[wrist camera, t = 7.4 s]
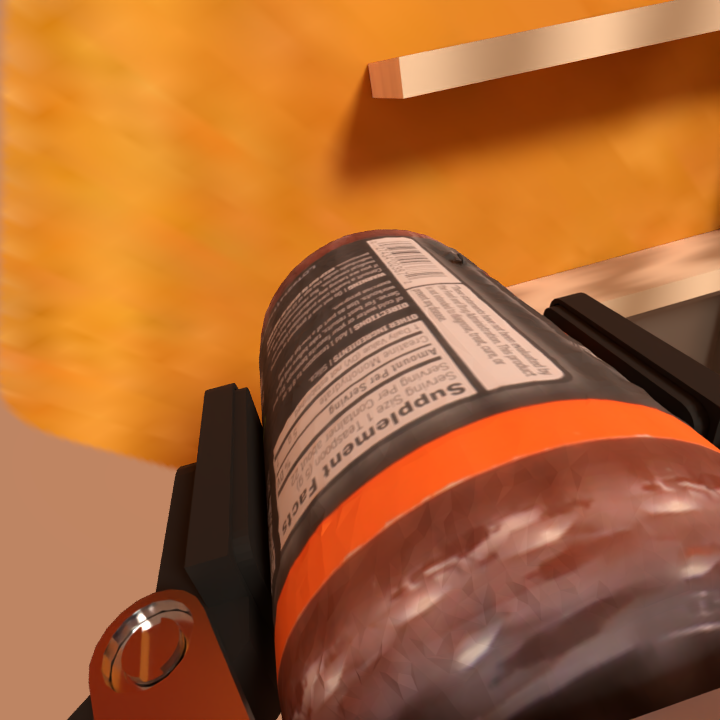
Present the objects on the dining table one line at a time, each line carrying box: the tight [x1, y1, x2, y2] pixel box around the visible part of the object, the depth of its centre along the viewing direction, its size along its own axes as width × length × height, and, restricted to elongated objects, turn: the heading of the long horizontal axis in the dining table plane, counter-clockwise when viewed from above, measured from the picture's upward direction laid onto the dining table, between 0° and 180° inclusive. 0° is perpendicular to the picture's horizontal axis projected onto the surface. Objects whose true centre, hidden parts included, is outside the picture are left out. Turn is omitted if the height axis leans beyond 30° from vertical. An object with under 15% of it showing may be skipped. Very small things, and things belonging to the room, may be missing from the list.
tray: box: [626, 290, 720, 375], centre depth 30 cm, size 14×14×2 cm
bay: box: [368, 0, 720, 318], centre depth 22 cm, size 21×12×4 cm, turn 101°
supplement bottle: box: [259, 230, 720, 720], centre depth 8 cm, size 6×6×11 cm
